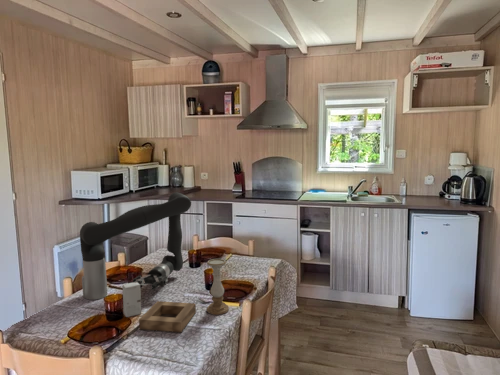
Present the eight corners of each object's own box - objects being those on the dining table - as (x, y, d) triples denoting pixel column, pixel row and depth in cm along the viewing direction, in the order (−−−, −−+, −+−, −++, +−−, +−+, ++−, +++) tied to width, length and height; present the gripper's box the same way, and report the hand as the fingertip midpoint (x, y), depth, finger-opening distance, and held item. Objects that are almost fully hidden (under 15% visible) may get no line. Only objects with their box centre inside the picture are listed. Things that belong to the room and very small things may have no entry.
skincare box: (126, 317, 144) (124, 287, 143) (123, 313, 148) (121, 284, 146) (142, 313, 147) (140, 284, 146) (138, 309, 151) (137, 281, 150)
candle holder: (232, 307, 152) (230, 259, 150) (223, 316, 144) (222, 265, 142) (212, 304, 155) (211, 257, 153) (203, 313, 147) (201, 263, 145)
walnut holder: (139, 329, 134) (138, 319, 134) (158, 310, 150) (157, 301, 150) (181, 333, 131) (180, 322, 131) (195, 313, 147) (195, 303, 147)
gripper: (144, 265, 173) (126, 277, 157) (173, 266, 170) (158, 279, 154) (145, 281, 174) (127, 294, 158) (173, 282, 171) (159, 296, 155)
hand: (142, 287), depth 156 cm, fingers open, 8 cm apart
